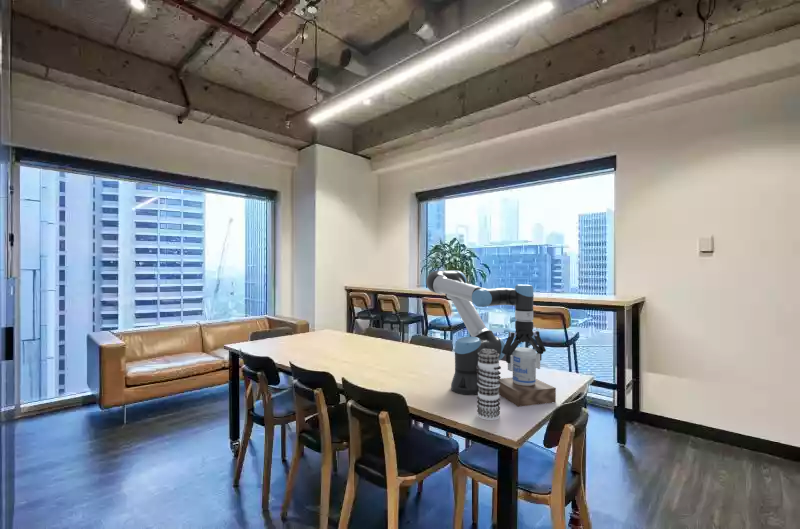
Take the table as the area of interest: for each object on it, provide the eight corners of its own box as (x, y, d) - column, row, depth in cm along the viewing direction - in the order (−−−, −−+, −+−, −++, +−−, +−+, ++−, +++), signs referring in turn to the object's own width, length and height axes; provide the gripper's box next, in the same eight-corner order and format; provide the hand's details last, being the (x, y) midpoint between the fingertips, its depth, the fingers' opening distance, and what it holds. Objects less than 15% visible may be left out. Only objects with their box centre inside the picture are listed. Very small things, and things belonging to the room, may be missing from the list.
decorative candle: (495, 410, 151) (495, 346, 151) (505, 419, 141) (505, 352, 141) (472, 411, 149) (472, 347, 149) (481, 421, 140) (481, 353, 140)
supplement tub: (510, 384, 164) (510, 350, 164) (514, 378, 172) (514, 346, 172) (534, 388, 159) (534, 352, 159) (537, 381, 168) (537, 348, 168)
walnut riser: (517, 406, 155) (517, 391, 155) (494, 392, 172) (494, 379, 172) (555, 402, 159) (555, 387, 160) (529, 388, 177) (529, 375, 177)
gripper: (503, 322, 159) (503, 373, 159) (554, 320, 166) (554, 369, 166) (494, 320, 166) (493, 369, 166) (543, 318, 173) (543, 365, 173)
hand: (524, 369), depth 166 cm, fingers open, 13 cm apart
